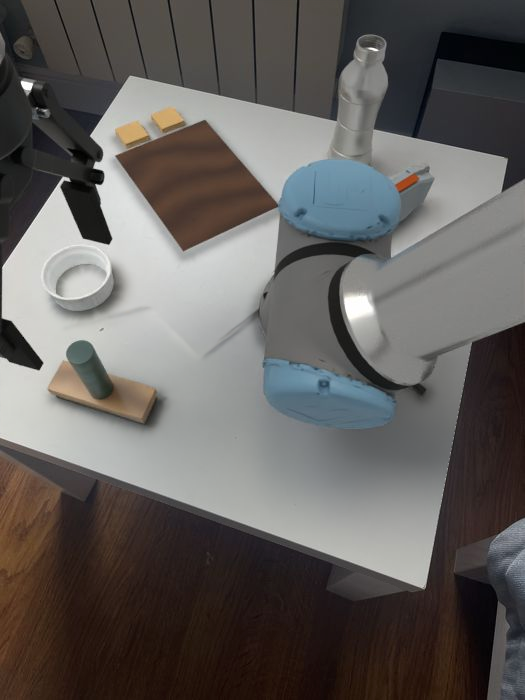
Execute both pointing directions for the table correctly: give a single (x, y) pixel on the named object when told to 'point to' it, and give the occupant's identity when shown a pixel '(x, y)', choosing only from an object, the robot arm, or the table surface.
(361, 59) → the plastic bottle
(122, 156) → the brown wooden board
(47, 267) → the ramekin
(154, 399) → the brush
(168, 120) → the crumb
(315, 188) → the robot arm
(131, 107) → the table surface
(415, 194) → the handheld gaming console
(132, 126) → the crumb
